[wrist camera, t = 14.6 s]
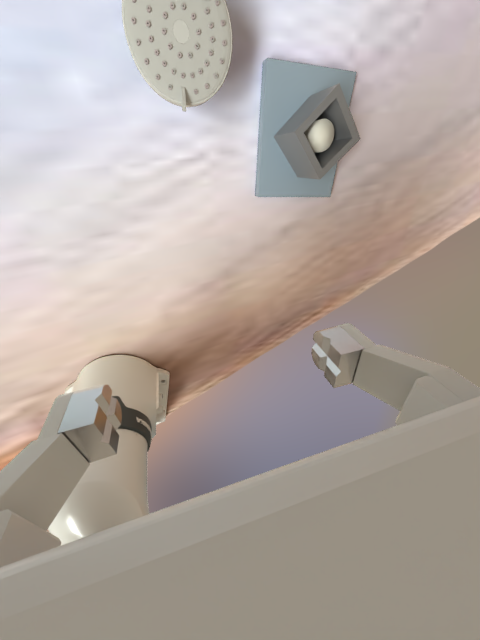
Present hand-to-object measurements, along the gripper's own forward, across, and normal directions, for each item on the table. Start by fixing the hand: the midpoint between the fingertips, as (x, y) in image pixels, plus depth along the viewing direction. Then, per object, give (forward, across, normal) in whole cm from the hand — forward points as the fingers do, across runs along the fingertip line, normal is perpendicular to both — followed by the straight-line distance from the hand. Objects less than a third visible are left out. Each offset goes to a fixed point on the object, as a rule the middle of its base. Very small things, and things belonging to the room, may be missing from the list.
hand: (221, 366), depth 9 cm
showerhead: (+31, -4, -16) cm, 35 cm away
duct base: (+31, -19, -8) cm, 37 cm away
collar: (+30, -19, -8) cm, 36 cm away
